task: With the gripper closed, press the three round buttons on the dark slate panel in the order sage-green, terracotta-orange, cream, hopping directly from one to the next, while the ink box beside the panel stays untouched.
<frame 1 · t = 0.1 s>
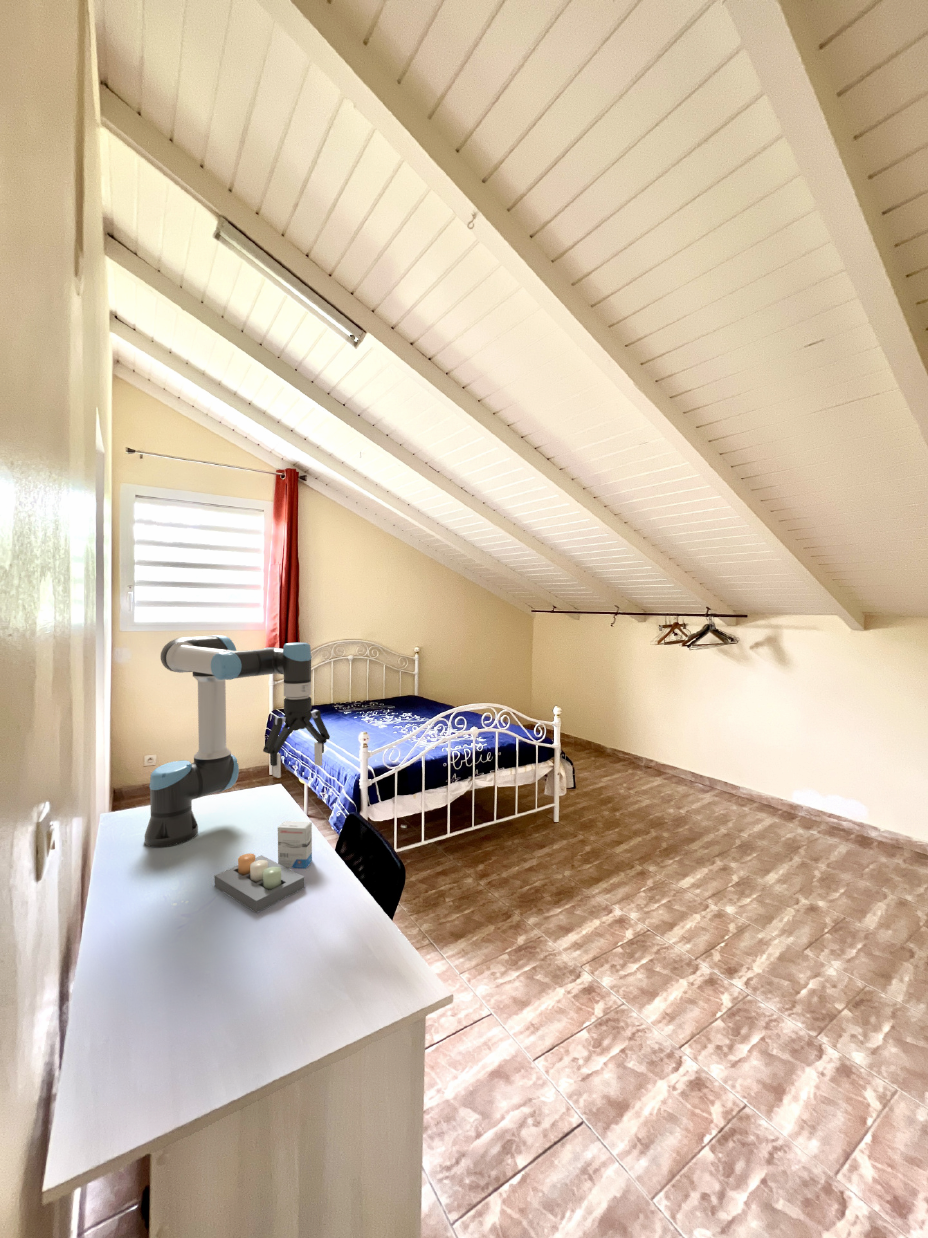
hand: (298, 770, 150), 28 cm above the table, fingers open, 13 cm apart
panel: (259, 887, 140), on the table
ink box: (295, 864, 152), on the table
cream button: (259, 871, 140), point 4 cm above the table, slide at 0.0 cm
orange button: (246, 864, 143), point 4 cm above the table, slide at 0.0 cm
green button: (272, 878, 136), point 4 cm above the table, slide at 0.0 cm
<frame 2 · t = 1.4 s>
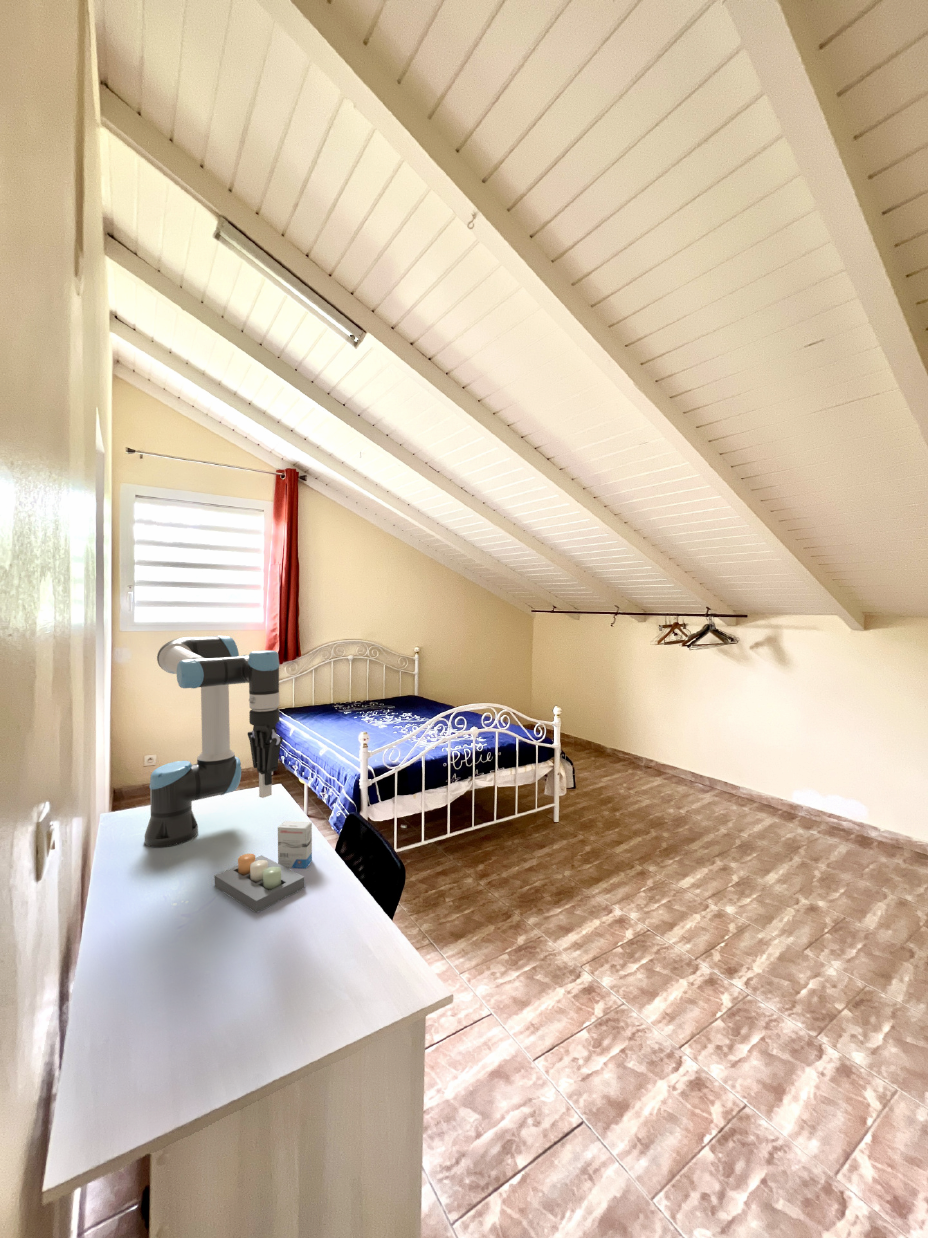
hand: (265, 795, 140), 24 cm above the table, fingers closed
nothing on the table moved.
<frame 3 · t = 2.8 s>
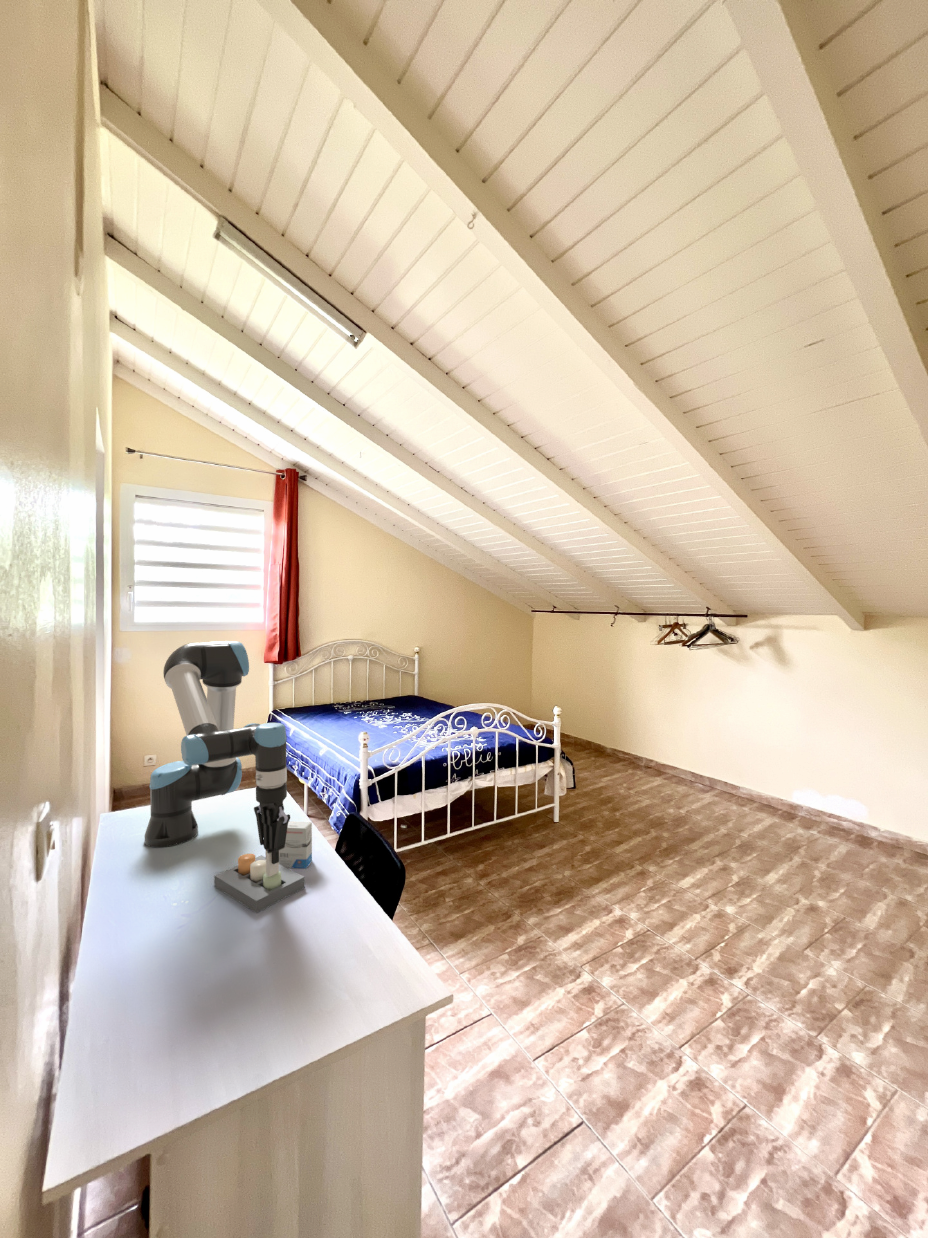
hand: (272, 874, 136), 6 cm above the table, fingers closed
green button: (272, 882, 136), point 3 cm above the table, slide at 1.0 cm
everything else where it was.
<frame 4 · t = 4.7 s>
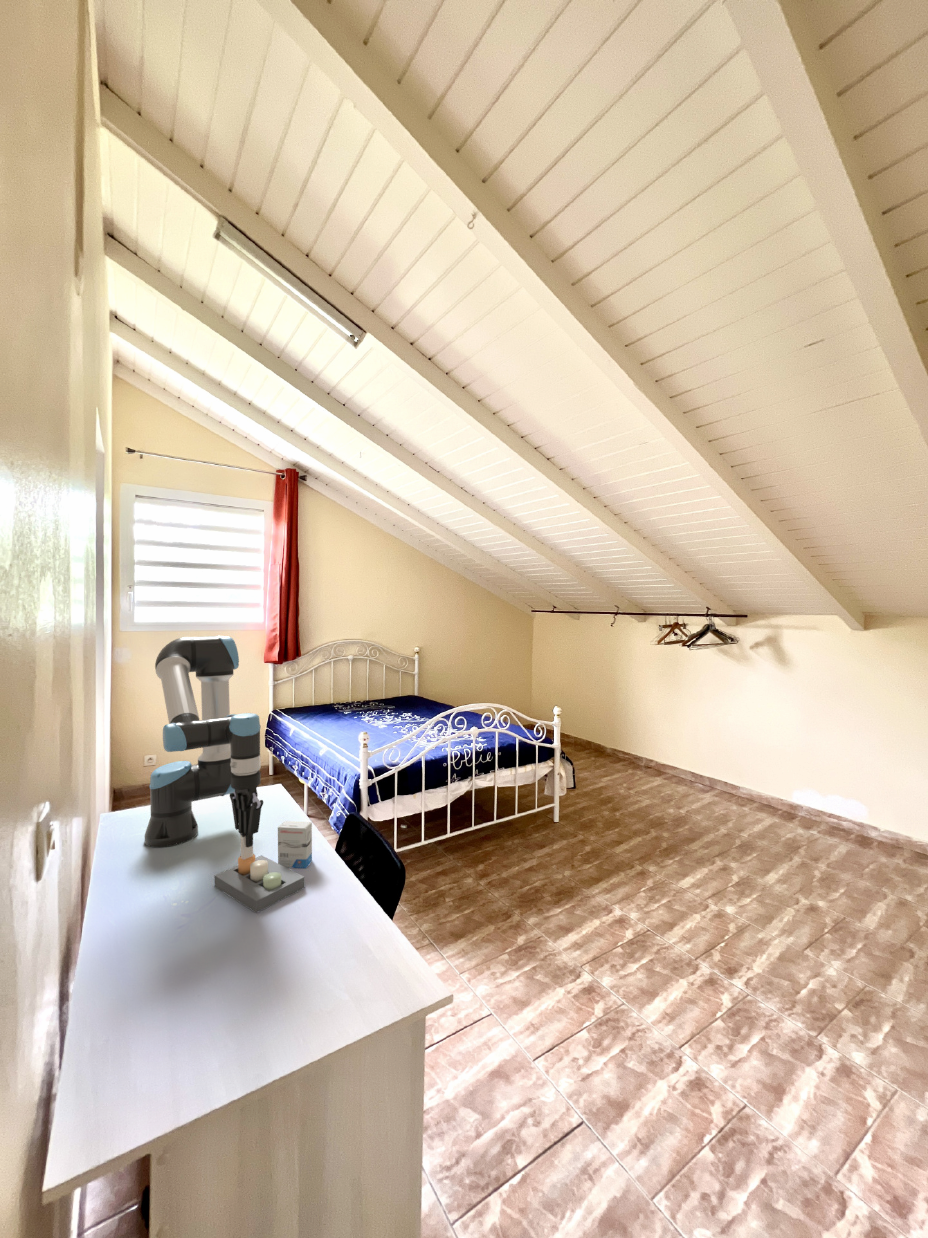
hand: (246, 857, 143), 7 cm above the table, fingers closed
orange button: (246, 864, 143), point 4 cm above the table, slide at 0.0 cm, touching gripper
green button: (272, 884, 136), point 3 cm above the table, slide at 1.5 cm
everything else where it was.
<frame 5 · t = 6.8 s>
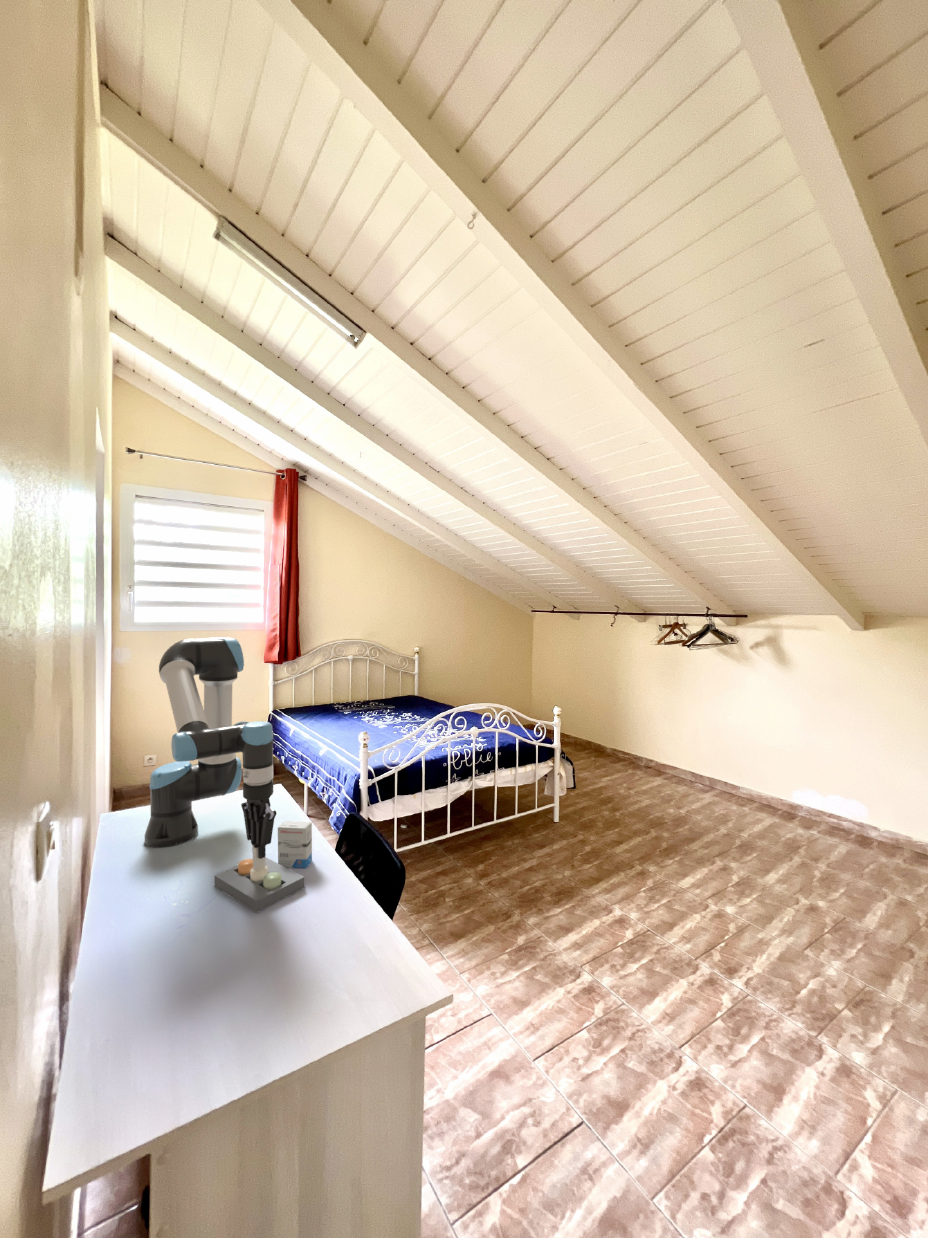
hand: (259, 868, 140), 5 cm above the table, fingers closed
cream button: (259, 876, 140), point 3 cm above the table, slide at 1.5 cm, touching gripper
orange button: (246, 870, 143), point 3 cm above the table, slide at 1.5 cm
everything else where it was.
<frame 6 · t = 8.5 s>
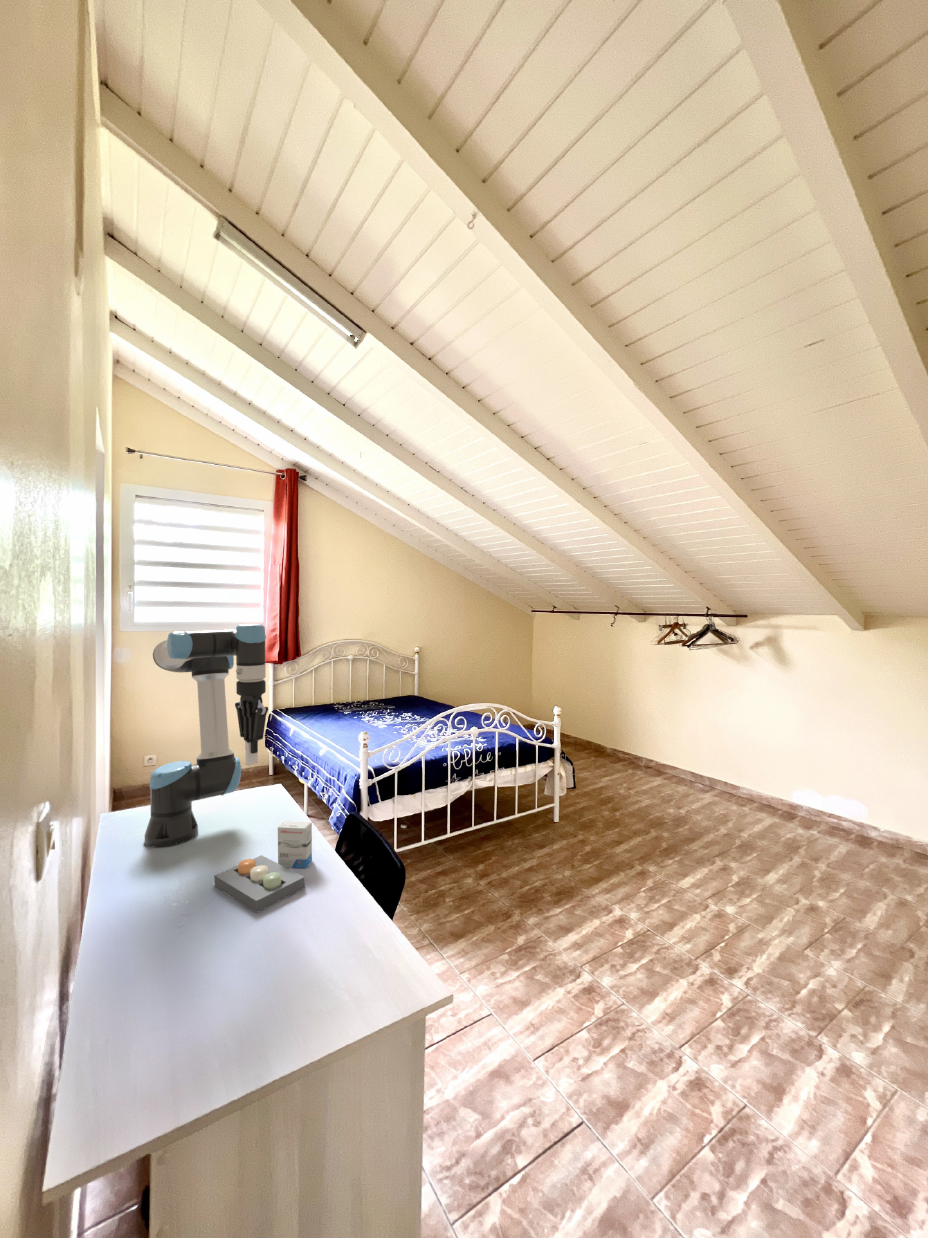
hand: (251, 763, 146), 31 cm above the table, fingers closed
cream button: (259, 877, 140), point 3 cm above the table, slide at 1.5 cm
everything else where it was.
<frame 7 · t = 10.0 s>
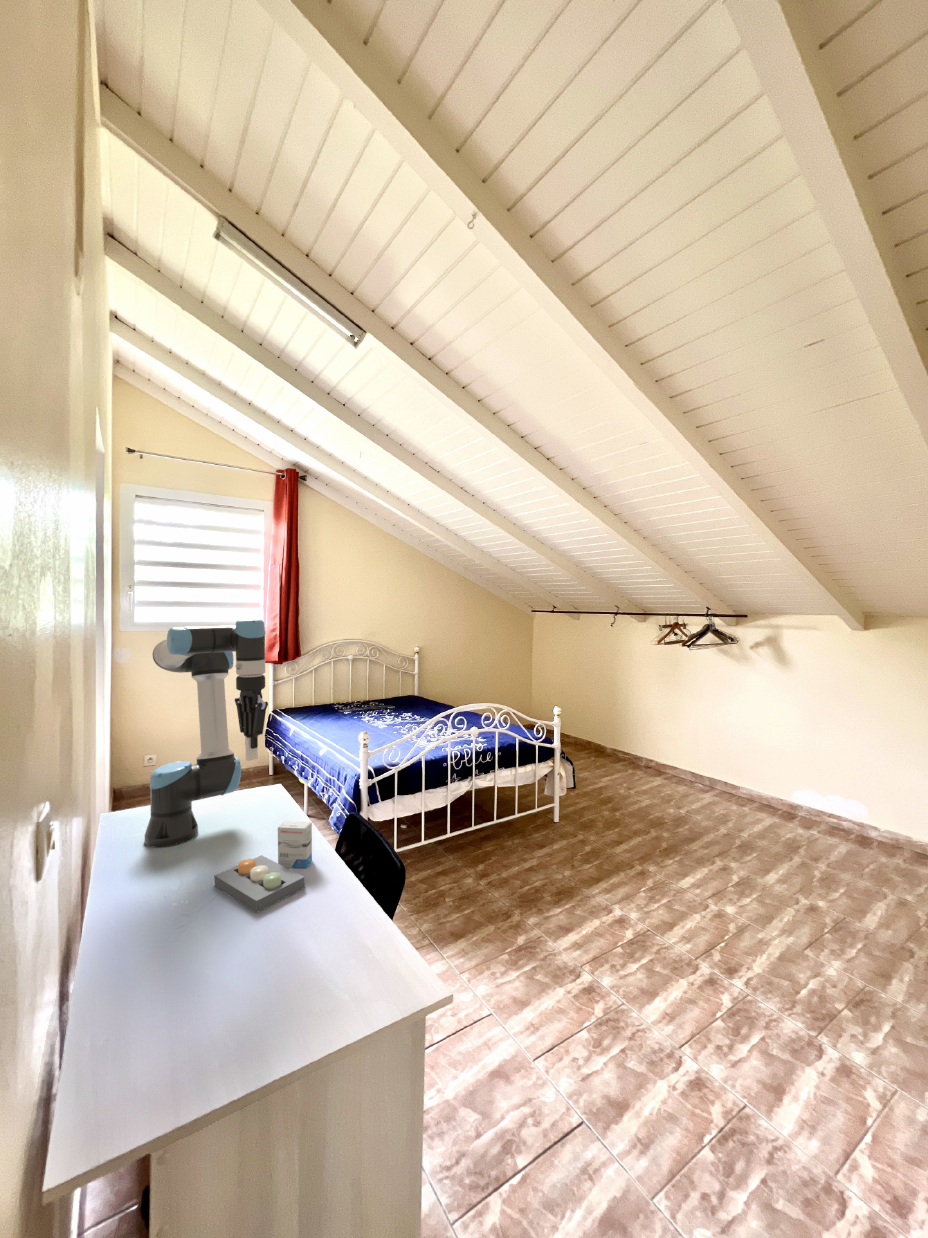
hand: (251, 759, 146), 32 cm above the table, fingers closed
nothing on the table moved.
at the end: green button slide at 1.5 cm; orange button slide at 1.5 cm; cream button slide at 1.5 cm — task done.
